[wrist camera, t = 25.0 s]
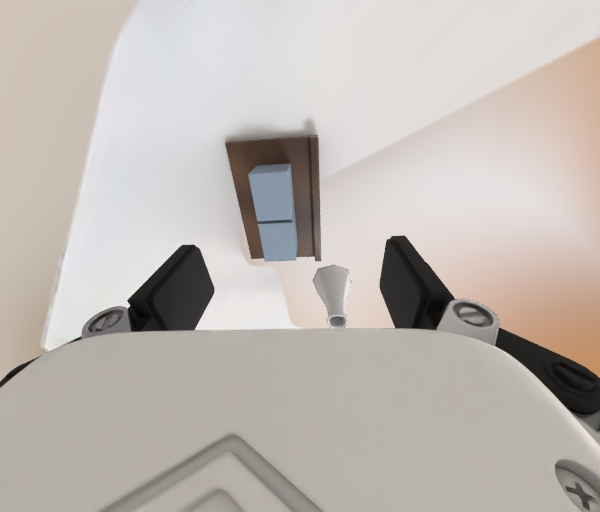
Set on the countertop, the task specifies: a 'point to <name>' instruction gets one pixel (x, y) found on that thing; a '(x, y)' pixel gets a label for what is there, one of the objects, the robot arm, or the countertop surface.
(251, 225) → the backing board
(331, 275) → the flask
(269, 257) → the pad
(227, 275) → the countertop surface
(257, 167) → the pad
